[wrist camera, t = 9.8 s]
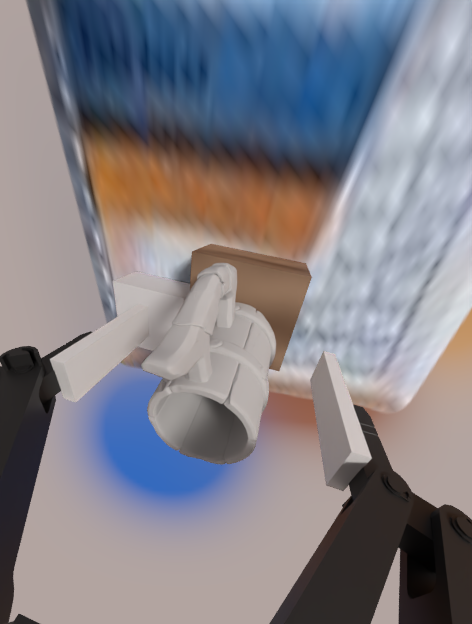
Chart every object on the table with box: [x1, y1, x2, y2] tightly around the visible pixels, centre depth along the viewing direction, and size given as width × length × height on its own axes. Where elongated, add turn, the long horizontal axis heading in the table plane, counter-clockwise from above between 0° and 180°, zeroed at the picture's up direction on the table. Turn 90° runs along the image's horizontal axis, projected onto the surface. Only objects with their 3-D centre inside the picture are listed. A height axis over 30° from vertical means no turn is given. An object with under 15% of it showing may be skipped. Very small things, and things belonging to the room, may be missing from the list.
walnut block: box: [190, 244, 312, 371], centre depth 21 cm, size 10×10×5 cm
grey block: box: [113, 271, 190, 351], centre depth 24 cm, size 8×8×4 cm
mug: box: [142, 263, 276, 464], centre depth 14 cm, size 8×12×12 cm, turn 1°
